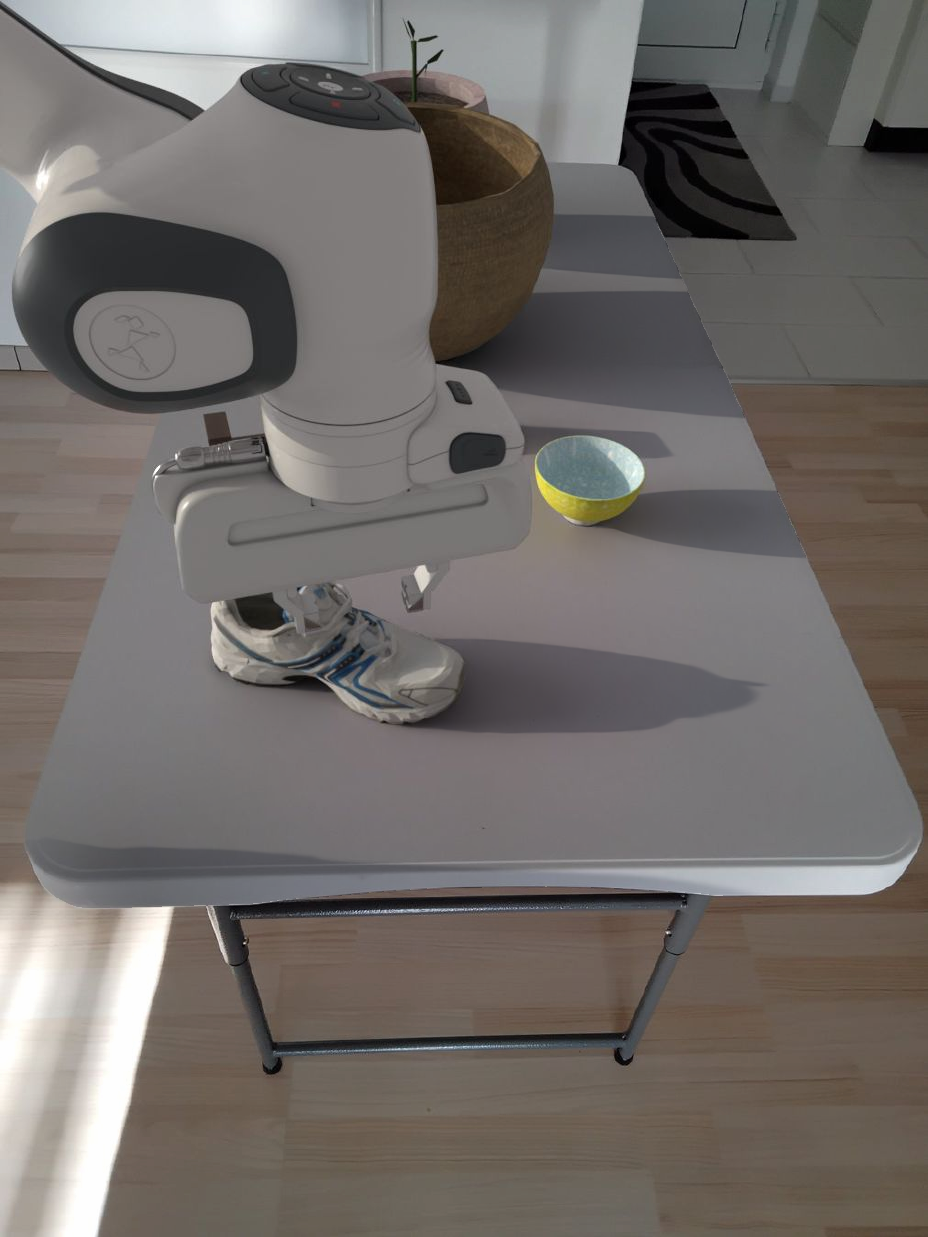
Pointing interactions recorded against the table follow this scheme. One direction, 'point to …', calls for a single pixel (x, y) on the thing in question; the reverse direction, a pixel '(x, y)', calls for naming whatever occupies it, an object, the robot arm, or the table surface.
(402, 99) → the plant pot
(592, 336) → the table surface
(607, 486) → the bowl
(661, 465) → the table surface
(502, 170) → the basket
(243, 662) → the athletic shoe
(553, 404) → the table surface
